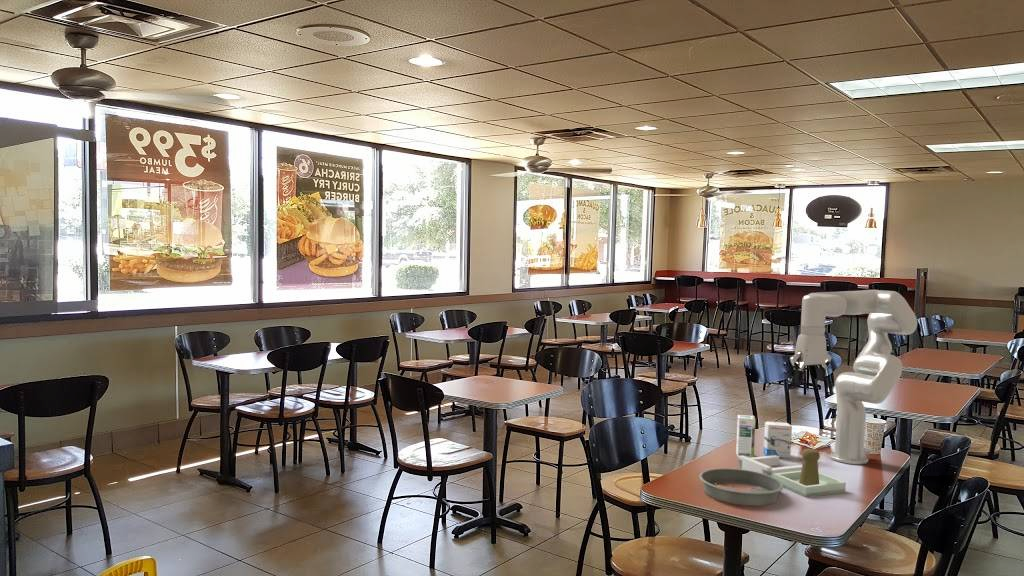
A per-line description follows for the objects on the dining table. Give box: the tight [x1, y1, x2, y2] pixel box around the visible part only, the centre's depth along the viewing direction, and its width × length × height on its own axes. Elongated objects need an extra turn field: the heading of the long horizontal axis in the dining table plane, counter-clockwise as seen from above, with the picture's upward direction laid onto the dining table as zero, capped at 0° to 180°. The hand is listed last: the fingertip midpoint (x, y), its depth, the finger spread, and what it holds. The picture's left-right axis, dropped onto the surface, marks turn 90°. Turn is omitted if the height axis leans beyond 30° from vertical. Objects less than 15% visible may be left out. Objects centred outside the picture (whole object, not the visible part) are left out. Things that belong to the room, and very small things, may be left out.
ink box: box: [763, 421, 793, 459], centre depth 266 cm, size 9×5×12 cm, turn 84°
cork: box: [799, 448, 820, 486], centre depth 231 cm, size 6×6×11 cm
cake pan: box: [699, 467, 784, 506], centre depth 223 cm, size 25×25×4 cm
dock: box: [737, 455, 803, 477], centre depth 247 cm, size 16×14×4 cm
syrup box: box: [735, 414, 756, 458], centre depth 265 cm, size 6×6×14 cm
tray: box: [773, 471, 847, 498], centre depth 231 cm, size 16×14×3 cm
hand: (809, 381), depth 249 cm, fingers open, 9 cm apart
